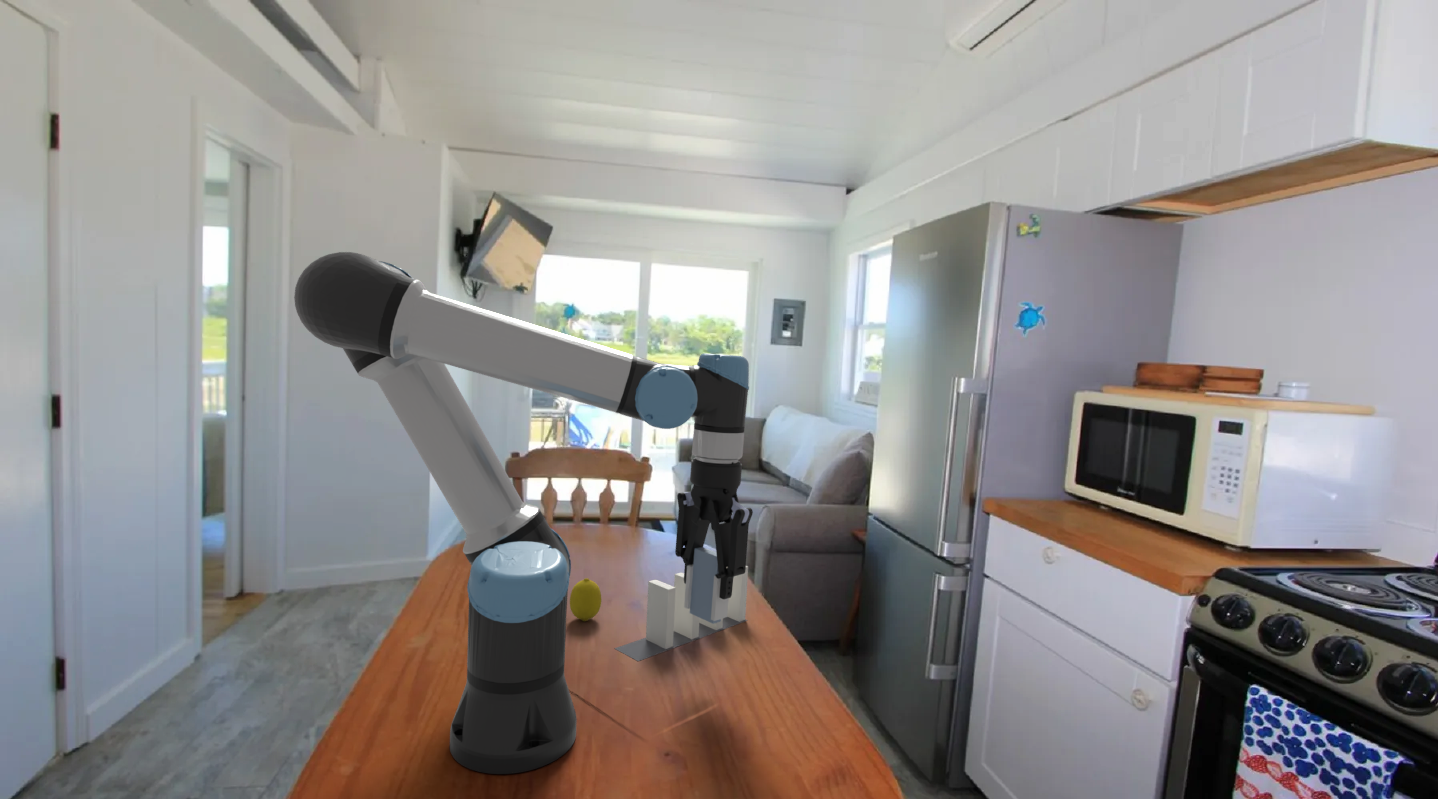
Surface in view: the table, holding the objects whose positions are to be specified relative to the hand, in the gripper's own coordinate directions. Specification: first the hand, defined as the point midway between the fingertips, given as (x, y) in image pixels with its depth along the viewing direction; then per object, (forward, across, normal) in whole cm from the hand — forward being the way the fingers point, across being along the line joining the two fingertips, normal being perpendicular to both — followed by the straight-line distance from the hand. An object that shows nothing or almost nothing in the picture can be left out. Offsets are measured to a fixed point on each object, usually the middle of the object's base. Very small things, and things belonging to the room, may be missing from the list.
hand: (705, 611), depth 104 cm
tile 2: (+10, +13, -3) cm, 17 cm away
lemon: (+11, +29, +1) cm, 31 cm away
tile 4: (+10, +13, -15) cm, 22 cm away
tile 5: (+10, +13, -21) cm, 27 cm away
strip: (+10, +13, -9) cm, 19 cm away
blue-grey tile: (+1, 0, 0) cm, 1 cm away
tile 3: (+10, +13, -9) cm, 19 cm away
